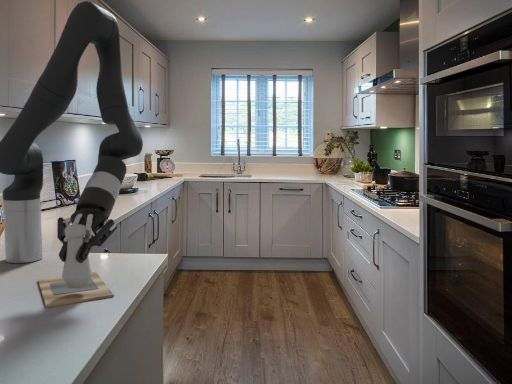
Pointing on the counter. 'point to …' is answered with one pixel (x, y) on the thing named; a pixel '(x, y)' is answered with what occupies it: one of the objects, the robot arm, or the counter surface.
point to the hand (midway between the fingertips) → (71, 260)
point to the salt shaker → (72, 269)
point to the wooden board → (72, 291)
